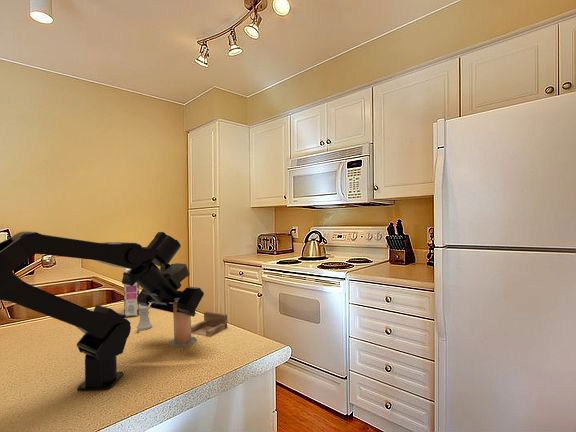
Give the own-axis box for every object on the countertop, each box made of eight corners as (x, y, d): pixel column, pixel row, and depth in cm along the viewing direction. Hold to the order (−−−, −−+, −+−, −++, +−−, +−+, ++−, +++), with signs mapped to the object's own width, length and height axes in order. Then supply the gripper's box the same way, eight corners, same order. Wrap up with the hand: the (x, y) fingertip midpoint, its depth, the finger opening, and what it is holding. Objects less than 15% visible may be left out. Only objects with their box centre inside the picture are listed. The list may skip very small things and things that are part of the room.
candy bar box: (139, 316, 114) (139, 269, 114) (123, 318, 112) (123, 270, 112) (139, 308, 124) (139, 265, 124) (125, 310, 122) (124, 266, 122)
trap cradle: (209, 340, 90) (209, 322, 90) (188, 335, 94) (187, 318, 94) (227, 331, 97) (227, 314, 97) (206, 327, 101) (206, 311, 101)
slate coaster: (193, 350, 84) (193, 345, 84) (165, 351, 83) (165, 346, 83) (199, 340, 91) (199, 335, 91) (173, 341, 90) (173, 336, 90)
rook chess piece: (146, 334, 96) (146, 307, 96) (133, 333, 97) (132, 306, 97) (155, 329, 100) (155, 303, 100) (142, 328, 101) (142, 302, 101)
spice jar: (189, 344, 85) (188, 302, 84) (171, 344, 84) (170, 303, 84) (193, 337, 89) (192, 297, 89) (176, 337, 89) (175, 298, 89)
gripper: (198, 256, 79) (226, 291, 89) (145, 253, 88) (177, 285, 98) (174, 295, 72) (207, 329, 82) (119, 287, 81) (156, 319, 90)
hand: (186, 313), depth 88 cm, fingers open, 5 cm apart
